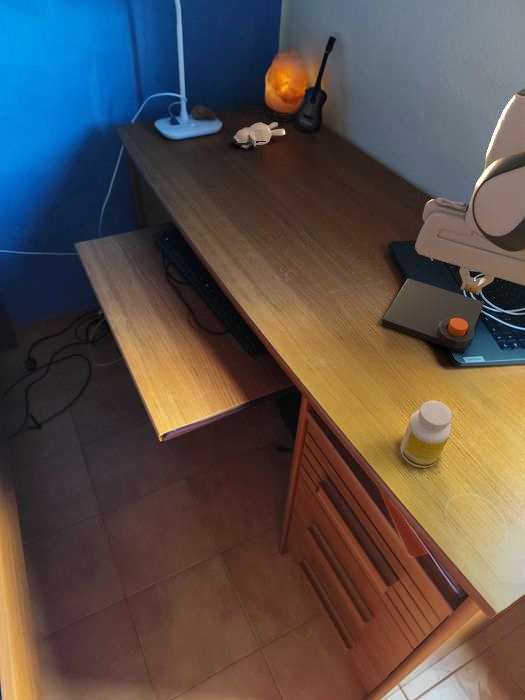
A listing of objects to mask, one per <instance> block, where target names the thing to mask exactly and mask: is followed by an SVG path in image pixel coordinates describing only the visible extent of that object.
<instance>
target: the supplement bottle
mask: <svg viewBox="0 0 525 700" xmlns="http://www.w3.org/2000/svg"><path fill="white" fill-rule="evenodd" d="M452 417H453V414H452V411H451V409H450V408H449V407H448V406H447V405H446V404H445V403H443V402H441V401H438V400H427V401H425V402H424V403H422V404H421V406H420V408H419V409H418V410H415V412H414V413H413V414H411V417H410V419H409V422H408V424H407V426H406V430H405V432H404V434H403V437H402V440H401V442H400V454H401V455H402V457H403V459H404V460H405V461H406V462H407V463H408V464H410V465H411V466H413V467H416V468H420V469H421V468H423V469H425V468H429V467H432V466H433V465H435V464H436V463H437V462H438V460H439V458H440V456H441V454H442V452H443V450H444V448H445V446H446V444H447V442H448V440H449V438H450V435H451V433H452V425H451V420H452Z"/></svg>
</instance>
